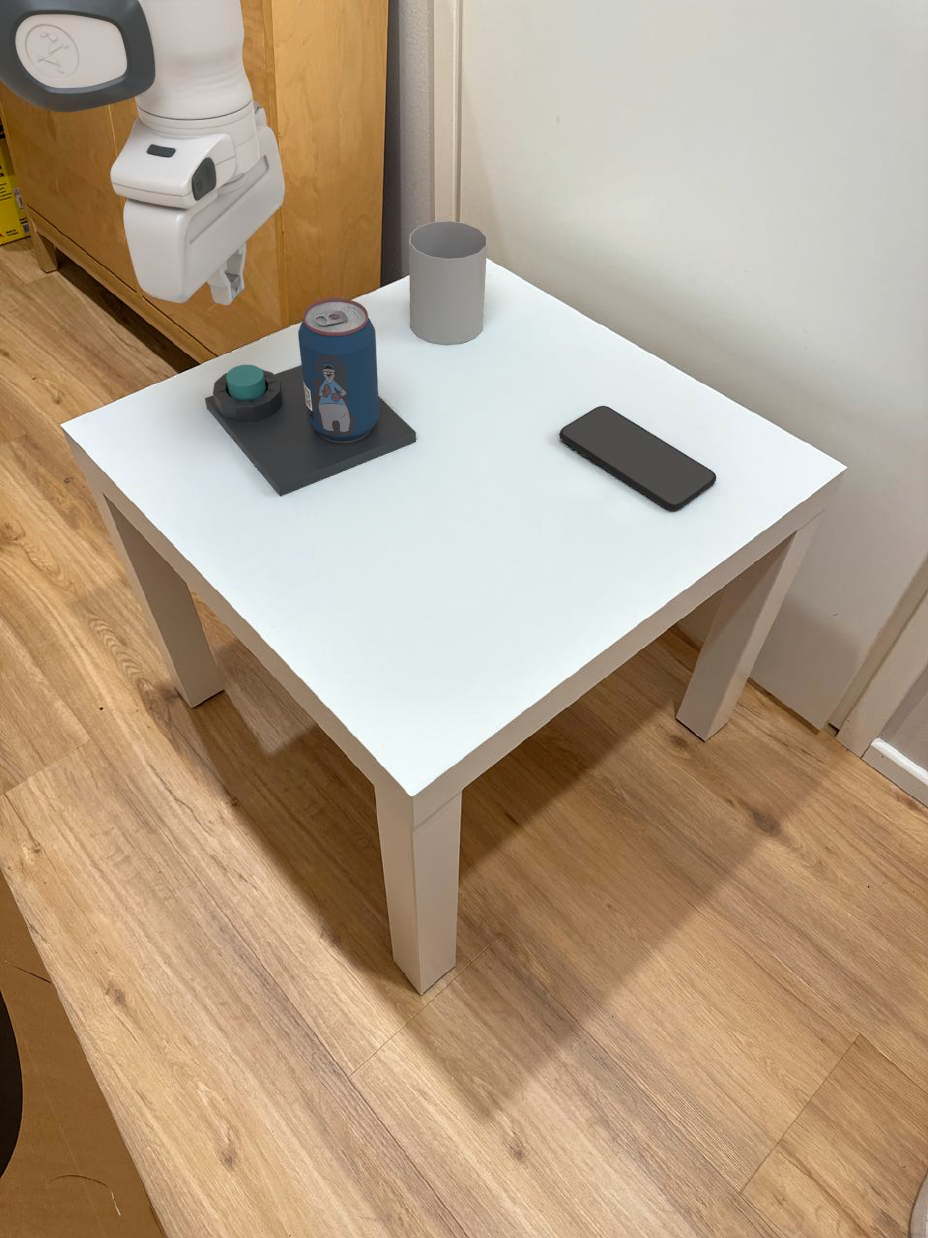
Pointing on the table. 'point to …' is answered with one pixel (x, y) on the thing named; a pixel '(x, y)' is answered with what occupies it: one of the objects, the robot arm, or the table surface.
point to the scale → (297, 433)
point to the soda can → (339, 369)
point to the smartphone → (638, 457)
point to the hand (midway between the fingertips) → (229, 296)
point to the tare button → (246, 382)
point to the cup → (447, 281)
